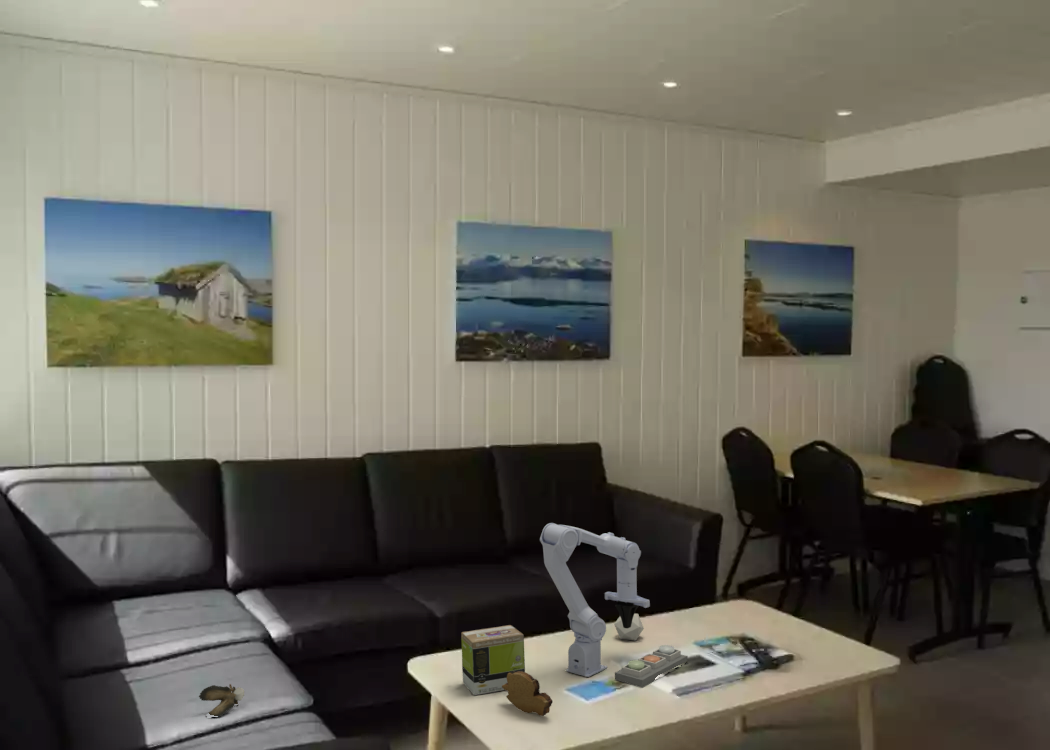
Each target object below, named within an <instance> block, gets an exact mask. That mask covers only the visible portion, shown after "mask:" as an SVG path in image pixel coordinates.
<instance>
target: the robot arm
mask: <svg viewBox="0 0 1050 750" xmlns="http://www.w3.org/2000/svg"><path fill="white" fill-rule="evenodd" d="M541 531H542V532H541V534H540V537H539V542H540V543H541V545H542V552H543V563H544V566H545V568H546V570H547V573H549V576H550V577H551V579H552V582H553V583H554V586H556V589H557V590H558V592H559V594H560V596H561V598H562V600H563V601H564V604H565V605H566V607H567V609H568V610H569V612H568V614H567V618H568V620H569V627H570V630H571V631H572V632H573V637H574V638H575V639H574V642H573V643H571V644H570V646H569V648H568V652H567V653H568V654H567V656H568V659H567V662H568V668H566V669H565V671H566V672H568V673H571V674H576V675H579V676H582V677H586V678H590V677H592V676H594V675H596V674H598V673H600V672H602V671H604V670H606V669H607V668H608V666H607V665H603V664H602V659H601V658H602V655H601V654H602V653H601V652H602V650H601V649H602V648H601V647H602V646H601V645H602V644H601V641H602V640H603V638H604V637H605V634H606V631H607V624H606V622H605V621H604V620H603V619H602V618H601V617H599V615H598V613H596V611H594V610H593V609H592V608H591V607H590V606H589V604H588V603H587V601H586V599H585V597H584V595H583V593H582V590H580V587H579V586H578V584H577V582H576V580H575V578H574V576H573V575H572V573H571V570H570V569H569V567H568V565H567V562H568V561H569V559H570V557H571V556H572V554H573V552H574V550H575V548H576V547H577V546H580V545H581V543H584V544H588V545H591V546H594V547H596V549H597V551H598V552H599V553H601V554H605V555H608V556H610V557H613V558H615V559H616V592H612V591H606V592H604V599H605V600H606V601H608V600H611V601H614V602H615V601H616V604H615V608H616V610H617V612H618V614H619V617H621V620H622V623H623V628H630V627H631V624H632V620H633V616H634V614H636V611H637V610H638V608H639V606H640V607H643V608H645V609H646V608H649V607H651V603H650V599H647V598H644V597H641V596H640V595H638V592H637V591H638V590H637V588H638V587H637V581H638V579H637V578H638V577H637V575H638V574H637V569H638V565H639V559H640V557H641V555H642V550H640V548H639V545H638V544H637V543H636V542H634V541H630V540H626V537H624V536H623V537H622V536H621V537H618V536H615V534H614V533H613V532H610V531H609V532H607V533H602V534H600V535H598V534H596V533H594V532H591V531H588V530H585V529H583V528H579V527H575V526H571V525H565V524H557V523H554V522H549V523H547V524H546V525H545V526H544V527H543V529H542V530H541Z"/></svg>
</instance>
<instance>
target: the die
mask: <svg viewBox="0 0 1050 750" xmlns="http://www.w3.org/2000/svg"><path fill="white" fill-rule="evenodd" d="M614 627H615V629H616V632H617V635H618V637H619V639H620V640H628V641H635V642H636V641H637V639H638V638H639V636H640V635H641V633H642V632H643V630H644V629H645V628H644V625H643V622H642V620H641V618H640V616H639V613H635V614H634V616H633V620H632V624H631V627H630V628H623V623H622V620H621V617H620V616H619V617H618V618H617V620H616V621H615V623H614Z"/></svg>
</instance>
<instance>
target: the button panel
mask: <svg viewBox="0 0 1050 750" xmlns="http://www.w3.org/2000/svg"><path fill="white" fill-rule="evenodd" d="M674 652H675V653H673V654H671V655H667V654H663V653H659V648H658V649H655V650H653V651H652V653H646V654H645V655H643V656H641V657H639V658H637V660H640V661H643V662H644V669H642V670H640V671H637V670H633V669H629V668H628V663H627V664H626V665H623V666H621V669H619V670H617V671H615V672H614V681H619V682H622V683H624V684H629V685H632V686H637V687H640V688H644V687H645V686H648V685H649V684H651V683H653V682H655V681H656V680H655V678H656V677H657V676H658V675H660V674H662V673H664V672H666V671H668V670H670V669H672V668H674V667H676V666H678V665H680V664H682V663H684V662H686V661H688V655H685V654H681V653H682V650H681V649H676V648H674ZM649 655H654V656H658V657H659V658H660V660H659V661H658V662H656V663H653V662H649V661H645V660H644V657H645V656H649ZM654 680H655V681H654Z"/></svg>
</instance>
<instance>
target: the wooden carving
mask: <svg viewBox="0 0 1050 750" xmlns="http://www.w3.org/2000/svg"><path fill="white" fill-rule="evenodd" d="M507 682H508V683H506V684H504V685H502V688H503V689H504V690H503V691H507V695H506V696H505V697H506V699H507V700H508V701H509V702H510V703H511V705H513V706H514V707H515V708H516V709H518V710H519V711H521V712H523V713H525V714H532V713H535V714H536V715H538V716H539V717H545V716H546V715H547V714H549V713H550V708H551V707H552V704H553V699H552V698H551V696H549V694H548V693H546V692H540V688H541V686H540V683H539V680H538V679H537V678H534V677H533V676H532V675H531V674H530V673H528V672H526V671H525V672H522V671H518V672H515V671H513V672H511V673H508V674H507Z"/></svg>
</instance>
